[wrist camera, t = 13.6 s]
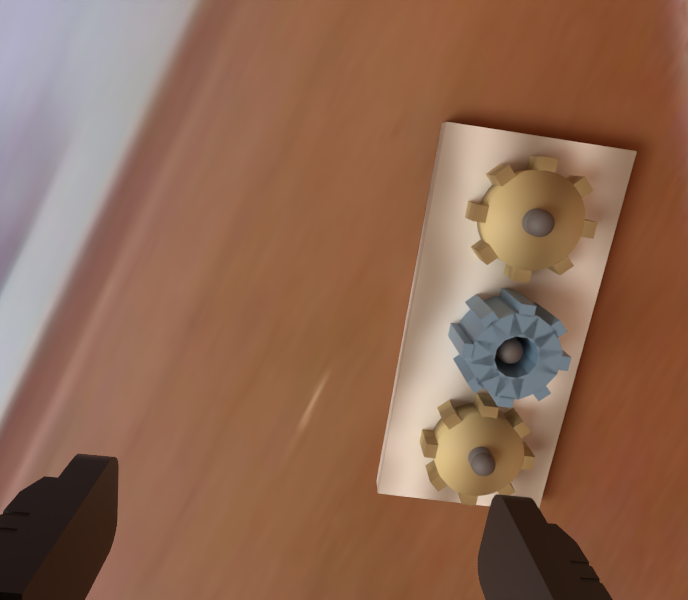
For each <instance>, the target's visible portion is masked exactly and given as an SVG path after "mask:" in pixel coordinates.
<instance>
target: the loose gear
mask: <svg viewBox="0 0 688 600" xmlns="http://www.w3.org/2000/svg"><path fill="white" fill-rule="evenodd" d="M465 303H466V305H467V306H468V307H469V309H470V310H469V311H468V312H467V313H466V314H465V315H464V317H463V318H462V319H461V320H460V324H453V323H450V328H449V333H448V337H449V338H450V340H451V341H452V343H453V345H454V346H455V348H456V349H457V351H458V353H459V355H458V356H456V357H455V358H453V360H454V361H455V363H456V365H457V367H458V368H459V370H460V372H461V373H462V375H463V377H464V379H465V380H466V382H467V384H468V385H469V386H470V388H471V389H472V390H473V392H474V393H476V392H478V391H479V390H481V389H482V388H484V389H486V390H487V391H488V392H489V394H490V395H491V397H492V398H493V400H494V401H495V403H496V405H497V406H500V407H508V408H512V405H513V401H514V399H517V400H519V399H522V398H524V397H527V396H530V395H532V394H533V395H534V396H535V397H536V399H537V400H538V401H540V400H542V399H544V398H545V397H547V396H548V395H550V394H551V392H550V391H549V389H548V388H547V387H546V385H547V384H548V383H549V382H550V381H551V380H552V379H553V378H554V377H555V376H556V375H557V373H558V370H563V371H568V369H569V365H570V361H571V358H572V357H571V356H569V355H568V354H567V353H566V352H565V351H564V350H562V347H561V344H560V341H559V337H560V336H562V335H563V334H565V333H566V332H568V331H567V330H566V329H565V327H564V326H563V324H562V323H561V321H560V320H559V319H558V318H556V317H555V316H554V315H552V314H551V313H550V312H548V311H547V310H546V309H544V308H543V307H541V306H540V305H539V304H537V303H536V302H535V303H534V304H533V303H532V302H531V301H529V300H528V299H527V298H525V297H524V296H523V295H521V294H520V293H519V292H517V291H516V290H514V289H507V288H501V292H500V296H494V297H491V298H489V299H486V300H484V301H483V300H482V299H481V298H480V297H479V296H478V295H477V294H475V295H474V296H473V297H471V298H470V299H468V300H467V301H465ZM515 336H517V337H516V339H517V340H518V341H519V342H520V343H521V345H522V347H523V356H522V358H521V359H520V360H519V361H518V362H516V363H513V364H508V363H505V362H503V361H501V360H500V359H499V357H498V356H497V355H496V350H497V348H498V347H499V346H500V345H501V344H502V343H503V342H504V341H505V340H507V339H510V338H513V337H515Z"/></svg>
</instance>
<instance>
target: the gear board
mask: <svg viewBox="0 0 688 600" xmlns="http://www.w3.org/2000/svg"><path fill="white" fill-rule="evenodd" d="M636 153H637V151H632V150H626V149H619V148H613V147H606V146H600V145H594V144H587V143H581V142H574V141H568V140H561V139H555V138H549V137H542V136H536V135H529V134H523V133H516V132H510V131H503V130H497V129H491V128H484V127H478V126H471V125H465V124H458V123H452V122H444V123H442V125H441V131H440V136H439V142H438V147H437V153H436V158H435V164H434V169H433V174H432V180H431V185H430V191H429V196H428V202H427V207H426V213H425V218H424V224H423V229H422V235H421V240H420V246H419V251H418V257H417V262H416V268H415V273H414V278H413V284H412V289H411V295H410V300H409V306H408V311H407V317H406V322H405V328H404V333H403V339H402V344H401V350H400V355H399V361H398V366H397V372H396V377H395V382H394V388H393V393H392V399H391V404H390V410H389V415H388V421H387V426H386V432H385V437H384V443H383V448H382V454H381V459H380V465H379V470H378V476H377V489H378V493H380V494H389V495H398V496H406V497H415V498H423V499H432V500H440V501H449V502H458V503H461V504H464V505H473V506H476V505H483V506H490V505H491V501H492V499H493V497H494V496H495V495H496V494H500V495H510V496H521V497H530V498H532V499H533V500H534V501H535V503H536V504H537V506H538V508H539V506H540V503H541V499H542V495H543V492H544V488H545V484H546V481H547V477H548V474H549V470H550V466H551V463H552V459H553V455H554V452H555V448H556V444H557V441H558V437H559V433H560V430H561V426H562V422H563V419H564V415H565V412H566V408H567V404H568V401H569V397H570V393H571V390H572V386H573V382H574V379H575V375H576V371H577V368H578V364H579V360H580V357H581V353H582V350H583V346H584V342H585V339H586V335H587V331H588V328H589V324H590V320H591V317H592V313H593V309H594V306H595V302H596V299H597V295H598V291H599V288H600V284H601V280H602V277H603V273H604V269H605V266H606V262H607V258H608V255H609V251H610V247H611V244H612V240H613V237H614V233H615V229H616V226H617V222H618V218H619V215H620V211H621V207H622V204H623V200H624V196H625V193H626V189H627V185H628V182H629V178H630V175H631V171H632V167H633V164H634V160H635V156H636ZM501 288H507V289H514V290H516V291H517V292H519V293H520V294H521V295H523V296H524V297H525V298H527V299H528V300H529V301H531V302H532V303H533V304H534V303H535V302H536V303H537V304H539V305H540V306H541V307H543V308H544V309H546V310H547V311H548V312H550V313H551V314H552V315H554V316H555V317H556V318H558V319H559V320H560V321H561V323H562V324H563V326H564V327H565V329H566V330H567V331H568V332H566V333H565V334H563V335H562V336H560V337H559V341H560V344H561V347H562V350H564V351H565V352H566V353H567V354H568V355H569V356H571V357H572V358H571V361H570V365H569V369H568V371H563V370H558V373H557V375H556V376H555V377H554V378H553V379H552V380H551V381H550V382H549V383H548V384H547V385H546V387H547V388H548V389H549V391H550V392H551V394H550V395H548V396H547V397H545V398H544V399H542V400H540V401H538V400H537V399H536V397H535V396H534V395H533V394H532V395H530V396H527V397H524V398H522V399H519V400H517V399H514V401H513V405H512V408H508V407H500V406H497V405H496V403H495V401H494V400H493V398H492V397H491V395H490V394H489V392H488V391H487V390H486V389H484V388H482V389H481V390H479V391H478V392H476V393H474V392H473V390H472V389H471V388H470V386H469V385H468V384H467V382H466V380H465V379H464V377H463V375H462V373H461V372H460V370H459V368H458V367H457V365H456V363H455V361H454V360H453V358H455V357H456V356H458V355H459V353H458V351H457V349H456V348H455V346H454V345H453V343H452V341H451V340H450V338H449V337H448V333H449V328H450V323H453V324H460V320H461V319H462V318H463V317H464V315H465V314H466V313H467V312H468V311H469V310H470V309H469V307H468V306H467V305H466V303H465V301H467V300H468V299H470V298H471V297H473V296H474V295H475V294H477V295H478V296H479V297H480V298H481V299H482V300H483V301H484V300H486V299H489V298H491V297H494V296H500V292H501ZM516 337H517V336H515V337H513V338H510V339H507V340H505V341H504V342H503V343H502V344H501V345H500V346H499V347H498V348H497V350H496V355H497V356H498V357H499V359H500V360H501V361H503V362H505V363H508V364H513V363H516V362H518V361H519V360H520V359H521V358H522V356H523V347H522V345H521V343H520V342H519V341H518V340H517V339H516Z"/></svg>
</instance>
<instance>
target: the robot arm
mask: <svg viewBox="0 0 688 600" xmlns="http://www.w3.org/2000/svg"><path fill="white" fill-rule="evenodd" d="M117 508H118V460H117V458H116V457H108V456H97V455H87V454H77V455H76V456H75V457H74V458H73V459H72V461H71V462H70V463H69V464H68V466H67V467H66V468H65V469H64V471H63V472H62V473H61V475H60V476H59V477H58V478H55V477H43V478H41V479H40V480H38V481H36V482H35V483H33V484H32V485H30V486H28V487H27V488H25V489H23V490H22V491H20V492H19V493H18V495H17V496H16V497H15V498H14V499H13V500H12V502H11V503H10V504H9V505H8V506H7V507H6V508H5V510H4V512H3V514H2V515H0V600H85V598H86V596H87V595H88V593H89V591H90V589H91V587H92V585H93V583H94V581H95V579H96V577H97V575H98V573H99V571H100V569H101V567H102V565H103V564H104V562H105V560H106V558H107V556H108V554H109V552H110V549H111V547H112V544H113V540H114V536H115V532H116V526H117ZM478 575H479V581H480V585H481V588H482V590H483V593H484V596H485V599H486V600H612V598H611V596H610V595H609V593H608V592H607V590H606V588H605V587H604V585H603V584H602V583H600V582H599V577H598V576H597V574H596V573H595V571H594V569H593V568H592V566H589V562H588V560H587V558H586V557H585V555H584V554H583V552H582V550H581V549H580V547H579V546H578V544H577V543H576V542H575V541H574V540H573V539H572V538H571V537H570V536H569V535H568V534H567V533H565V532H564V531H563V530H562V529H561V528H560V527H559V526H558V525H556V524H549V523H547V521H546V520H545V518H544V516H543V515H542V513H541V511H540V510H539V508H538V506H537V504H536V503H535V501H534V500H533V499H532V498H530V497H521V496H510V495H500V494H496V495H495V496H494V497H493V499H492V501H491V505H490V509H489V513H488V517H487V521H486V525H485V529H484V533H483V537H482V542H481V546H480V550H479V555H478Z"/></svg>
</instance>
